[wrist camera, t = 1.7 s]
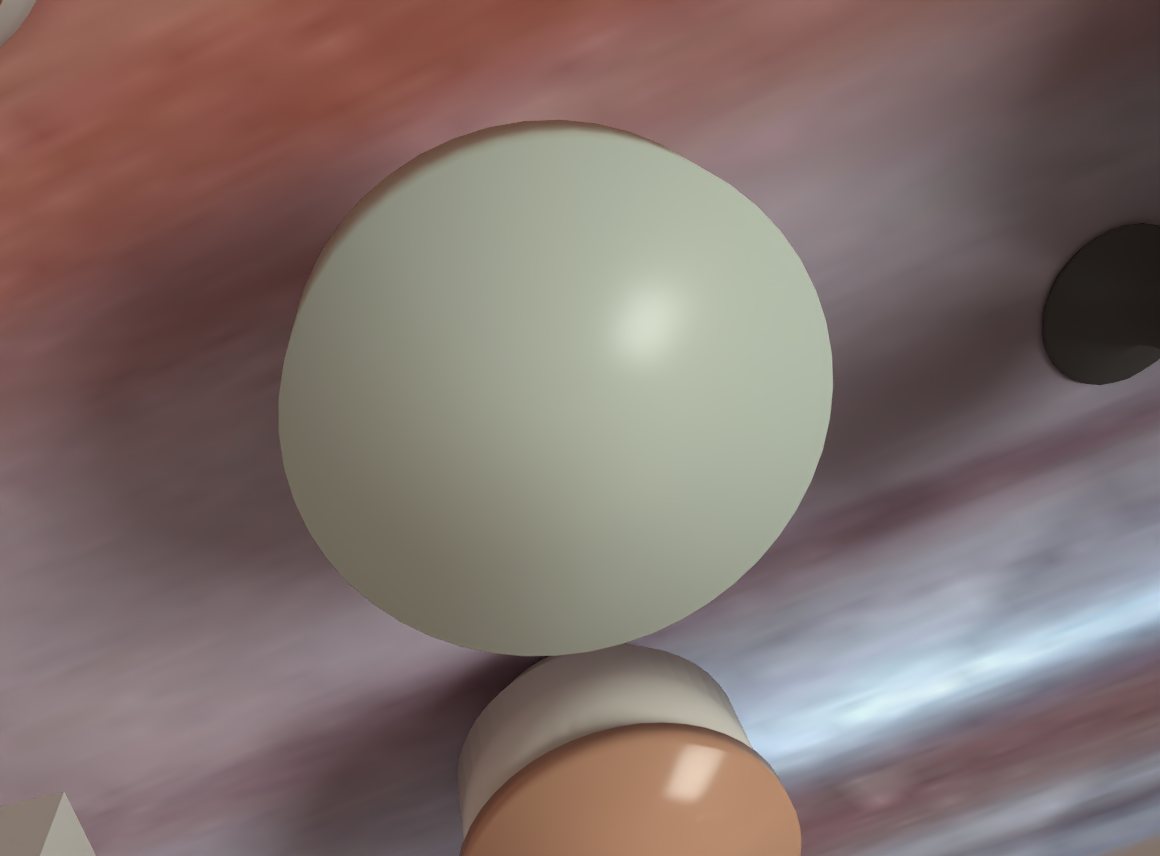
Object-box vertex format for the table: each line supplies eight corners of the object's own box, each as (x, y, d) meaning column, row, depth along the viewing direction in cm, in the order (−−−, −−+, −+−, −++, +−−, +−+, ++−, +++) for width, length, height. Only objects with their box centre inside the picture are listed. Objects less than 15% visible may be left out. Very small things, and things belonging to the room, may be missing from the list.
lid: (882, 290, 22) (938, 325, 20) (616, 655, 25) (639, 721, 23) (457, 3, 18) (468, 7, 16) (198, 474, 21) (177, 532, 19)
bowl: (787, 670, 33) (867, 806, 28) (630, 869, 36) (676, 1028, 30) (544, 563, 30) (582, 695, 24) (389, 792, 32) (393, 958, 27)
